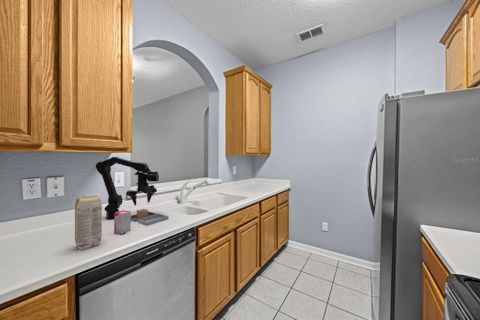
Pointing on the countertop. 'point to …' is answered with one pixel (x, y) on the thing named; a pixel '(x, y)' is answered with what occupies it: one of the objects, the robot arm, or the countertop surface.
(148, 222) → the tray
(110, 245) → the countertop surface
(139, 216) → the brown cube
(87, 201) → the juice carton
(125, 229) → the supplement box
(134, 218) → the bin
